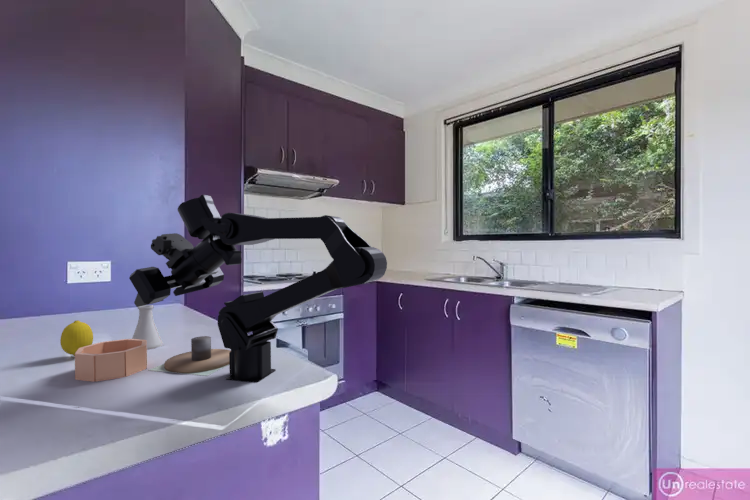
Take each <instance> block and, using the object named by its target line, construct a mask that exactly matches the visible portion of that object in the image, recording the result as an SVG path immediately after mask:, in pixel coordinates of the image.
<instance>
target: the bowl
mask: <svg viewBox="0 0 750 500" xmlns="http://www.w3.org/2000/svg"><path fill="white" fill-rule="evenodd" d="M147 368H148V350H147V340H141V339H132V338H125V339H124V338H122V339H115V340H107V341H100V342H96V343H92V345H88V346H84V347H81V348H79V349H78V350H77V351H76V353H75V356H74V378H75V379H74V380H76V381H84V382H102V381H109V380H114V379H120V378H121V379H122V378H126V377H129V376H132V375H134V374H136V373H139V372H141V371H144V370H146V369H147Z"/></svg>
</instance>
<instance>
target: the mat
mask: <svg viewBox="0 0 750 500" xmlns="http://www.w3.org/2000/svg"><path fill="white" fill-rule="evenodd" d="M227 366H229V365H227ZM227 366H224V367H221V368H218V369H214V370H210V371H204V372H196V373H179V374H180V375H181V374H182V375H192V376H193V375H194V376H200V377H201V376H202V377H204V376H205V377H208V376H210V375H212V374H214V373H216V372H218V371H220V370H221V369H224V368H225V367H227ZM148 371H150V372H163V373H170V374H172V373H173V374H175V373H174V372H170V371H167V370H166V369H165V365H164V363H163V364H160V365H158V366H155V367H153V368H150V369H148Z"/></svg>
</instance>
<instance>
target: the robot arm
mask: <svg viewBox="0 0 750 500" xmlns="http://www.w3.org/2000/svg"><path fill="white" fill-rule="evenodd" d="M177 212H178V213H179V216H180V218H181V221H182V222H183V223H184V224H183V225H184V226H185V229H186V230H187V232H188V233H189V235H190V237H192V238H197V239H199V240H201V241H200V242H198V243H197V245H195V246H194V245H193V243H191V242H190V241H189V240H187V239H186V238H185V237H184V236H183V235H181V234H180V233H164V234H161V235H157V236H156V238H153V239H152V240H151V244H150V249H151V250H152V251H153V252H154V253H155V254H157V256H163V257H164V258H165V259H166V260H167V262H165V265H166V266H167V268H168V269H171V270H170V275H167V276H164V275H163V273H162V271H161V270H160V268H159V267H157V266H148V267H144V268H143V267H142V268H137V269H135V270H134V271H133V272H132V273H131V274H130V276H129V280H130V282H131V283H132V286H133V287H134V289H135V290H136V292H137V294H136V296H135V298H134V302H133V303H134V306H135V307H136V308H138V307H140V306H144V305H153V304H156V303H161V302H164V300H165V299H167V298H168V297H169V296H171V290H172V289H174V290H173V292H172V293H173V295H174V296H175V297H178V296H182V295H186V294H190V293H194V292H198V291H201V290H205V289H210V288H212V287H214V286H218V285H220V283H222V282H223V281H224V278H225V274H224V272H223V271H222V269H221V266H223V265H224V264H225V265H226V266H236V265H237V266H238V265H241V264H242V253H243V252H242V250H238V249H237V247H236V246H255V245H257V244H262V243H267V242H269V241H273V240H308V239H309V240H310V239H311V240H312V239H313V240H319V239H320V240H321V241H322V243H324V245H325V248H326V250H327V251H328V254H329V256H330V257H331V258H332V261H331V262H330V263H329V264H328V265H327V266H326V267H325V268H324V269H322V270H321V271H318V272H316V273H314V274H312V275H309V276H307V277H305V278H303V279H300V280H298V281H296V282H293V283H292V284H289V285H288V286H285V287H283V288H280V289H278V290H277V291H274V292H272V293H269V294H268V295H265V294H264V291H262V290H261V291H256V292H251V293H245V294H241V295H239V296H238V297H236V298H235V299H233V300H230V301H225V302H224V303H223V304H224V306H223V307H222V308H220V310H219V311H218V315H217V327H218V331H219V333H220V338H221V340H222V343H223V346H224V349H228V350H231V351H230V352H229V365H228V366H229V367H228V369H229V370H228V371H229V374H230V375H228V376H226V377H225V380H226V381H235V382H245V383H256V384H257V383H259V382H261V381H262V380H264V379H266V378H267V377H269V376H270V375H272V374H273V373H274V372H276V368H272V348H271V347H272V341H270V340H274V339H276V337H277V334H278V331H279V328H278V326H276V324H275V323H274V322H273V321H272V320H273V319H274V318H275V317H276V316H278V315H280V314H282V313H284V312H286V311H289V310H292V309H293V308H296V307H299V306H301V305H304V304H305V303H308V302H310V301H313V300H315V299H318V298H319V297H322V296H324V295H326V294H329V293H332V292H334V291H336V290H340V289H346V288H350V287H355V286H360V285H364V284H367V283H371V282H374V281H377V280H380V279H381V278H383V277H384V276H385V274H386V272H387V271H386V270H387V267H388V261H387V257H386V255H385V254H384V252H383V251H382V250H380V249H379V248H377V247H375V246H371V245H370V243H369V242H367V240H365V239H364V238H363V237H362V236H361V235H359V233H357V232H355V231H354V230H353V229H352V228H351V227H350V226H349V225H348V224H347V223H346V222H345V220H344V218H341V217H339V216H333V215H328V214H327V215H326V214H325V215H322V216H306V217H305V216H302V217H299V216H298V217H271V218H270V217H269V218H268V217H265V216H259V215H254V214H247V213H246V214H245V213H237V212H225V213H224V214H223V213H222V215H220V213H219V211H218V209H217V207H216V205H215V202H214V199H213V198H212V196H211V195H207V194H201V195H200V196H199V197H194V198H191V199H189V200H186V201H183V202H181V203H180V204H179V205H178V206H177ZM249 333H251V334H249Z"/></svg>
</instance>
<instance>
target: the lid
mask: <svg viewBox="0 0 750 500" xmlns="http://www.w3.org/2000/svg"><path fill="white" fill-rule="evenodd" d="M190 342H191V343H190V344H191V345H190V347H191V351H187V352H183V353H178V354H176V355H173V356H171V357H169V358H168V359H166V360H165V361H164V363H163V364H164V365H165V369H166V370H167V371H170V372H174V373H173V374H180V373H196V372H204V371H210V370H214V369H218V368H221V367H224V366H226V367H227V365H228V366H229V352H230V351H231V349H227V348H224V349H223V348H212V336H210V335H209V336H208V335H204V336H203V335H200V336H195V337H192V338H191V339H190ZM224 368H225V367H224Z"/></svg>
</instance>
